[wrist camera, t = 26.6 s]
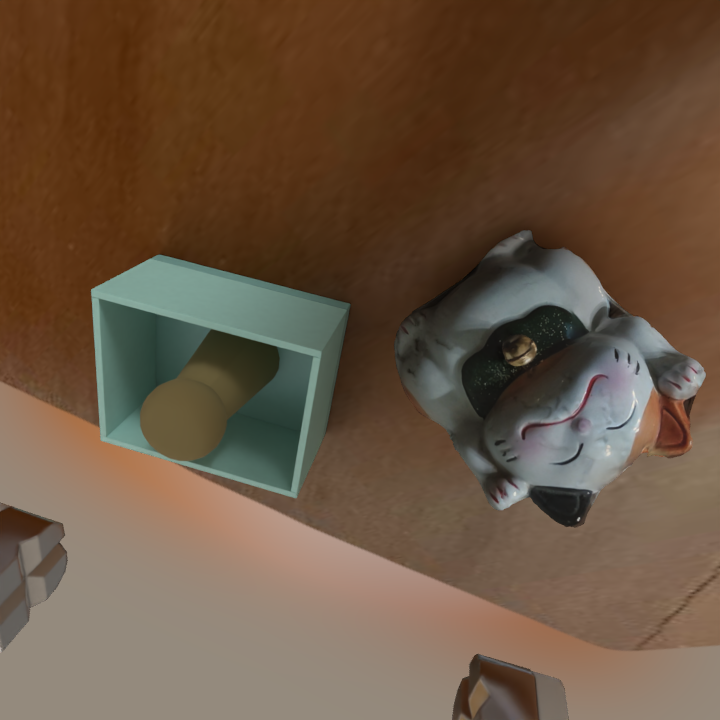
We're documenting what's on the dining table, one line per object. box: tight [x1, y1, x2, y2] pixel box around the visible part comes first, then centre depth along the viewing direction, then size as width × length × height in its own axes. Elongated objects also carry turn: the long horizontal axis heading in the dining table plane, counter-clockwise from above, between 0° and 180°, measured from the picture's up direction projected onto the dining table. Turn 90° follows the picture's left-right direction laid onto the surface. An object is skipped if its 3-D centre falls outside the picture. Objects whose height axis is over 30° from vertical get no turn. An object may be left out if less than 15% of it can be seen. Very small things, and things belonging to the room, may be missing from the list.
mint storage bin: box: [91, 254, 351, 498], centre depth 39 cm, size 8×15×12 cm
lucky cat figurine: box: [394, 230, 706, 527], centre depth 32 cm, size 15×12×14 cm
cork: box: [140, 329, 280, 461], centre depth 36 cm, size 6×6×11 cm
